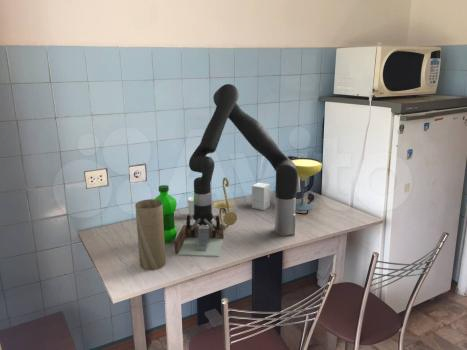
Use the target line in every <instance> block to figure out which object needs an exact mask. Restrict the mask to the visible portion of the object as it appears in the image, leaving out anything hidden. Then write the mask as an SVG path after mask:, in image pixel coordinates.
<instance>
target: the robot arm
mask: <svg viewBox="0 0 467 350" xmlns="http://www.w3.org/2000/svg"><path fill="white" fill-rule="evenodd" d="M239 96H240V93H239V90H238V89H237V86H235V85H233V84H231V83H227V84H223V85H222V86H220V87H219V88H218V89H217V90H216V91H215V92H214V93H213V103H214V105H215V110H214V113H213V115H212V117H211V118H210V120H209V122H208V124H207V126H206V128H205V130H204V132H203V135H202V138H201V140H200V143H199V145H198V146H196V149H195V150H194V151H193V153H192V154H191V156H190V157H189V161H188V167H189V169H190V170H191V172H195V173H199V174H201V176H199V177H196V178H194V180H193V196H194V200H193V202H194V215H191V214H189V213H187V215H186V223H185V225H186V228H187V229H188V228H189V229H191V236H193V238H195V227H196V226H197V225H201V226H209V227H211V229H212V238H213V239H214V237H216V230H217V229H218V230H219V229H220V226H221V220H220V214H219V213H218V214H215V215H213V210H212V209H213V207H212V206H213V203H212V202H213V201H212V191H211V190H212V189H211V188H212V186H211V185H212V184H211V183H212V178H213V175H214V174H213V173H214V172H215V171H214V169H215V161H214V159H213V157H211V156H207V155H209V154H213V153H215V152H216V151H217V147H218V145H219V143H220V140H221V136H222V134H223V131H224V128H225V126H226V124H227V121H228V120H229V121H230V122H231V123H232V124H233V125H234V126H235V127H236V129H237V130H238V131H239V132H240V133H241V135H242V136H243V137H244V139H245V140H246V141H247V142H248V143H249V144H250V146H251V147H252V148H253V149H254V150H255V151H256V152H257V153H259V154H260V155H261V156H263V157H264V158H265V159H266V160H267V161H268V162H269V164H270V165H271V167H272V168H273V169H274V171H275V190H274V191H275V192H274V193H275V199H274V200H275V202H274V233H275V234H276V235H279V236H292V235H293V236H294V235H295V234H296V219H297V218H296V217H297V215H296V203H297V202H296V201H297V189H298V188H297V187H298V176H297V168H296V166H295V164H294V163H293V162H292V161H291V160H290V159H291V158H289V157H288V156H287V155H286V154H285V153H284V152H283V151H282V150H281V148H279V146H278V145H277V143H276V142H275V140H274V138H273V137H272V136H271V135H270V133H269V132H268V131H267V130H266V128H265V127H264V125H262V123H261V122H260V121H258V120H257V119H255V118H254V117H252V116H251V115H249V114H248V113H246V112H245V111H244V110H243V109H242V108H241V106H240V105H239V104H238V100H239ZM192 218H194V219H192ZM213 219H214V221H215V223H216V224H214V222H213ZM191 220H194V223H193V224H191Z"/></svg>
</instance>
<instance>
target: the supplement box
mask: <svg viewBox="0 0 467 350" xmlns="http://www.w3.org/2000/svg"><path fill="white" fill-rule="evenodd" d="M270 198H271V184H270V183H266V182H256V183H254V184H252V186H251V208H252V209H257V210H261V211H265V210H266V209H268V208H269V207H270V205H271V203H270V202H271V199H270Z"/></svg>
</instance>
